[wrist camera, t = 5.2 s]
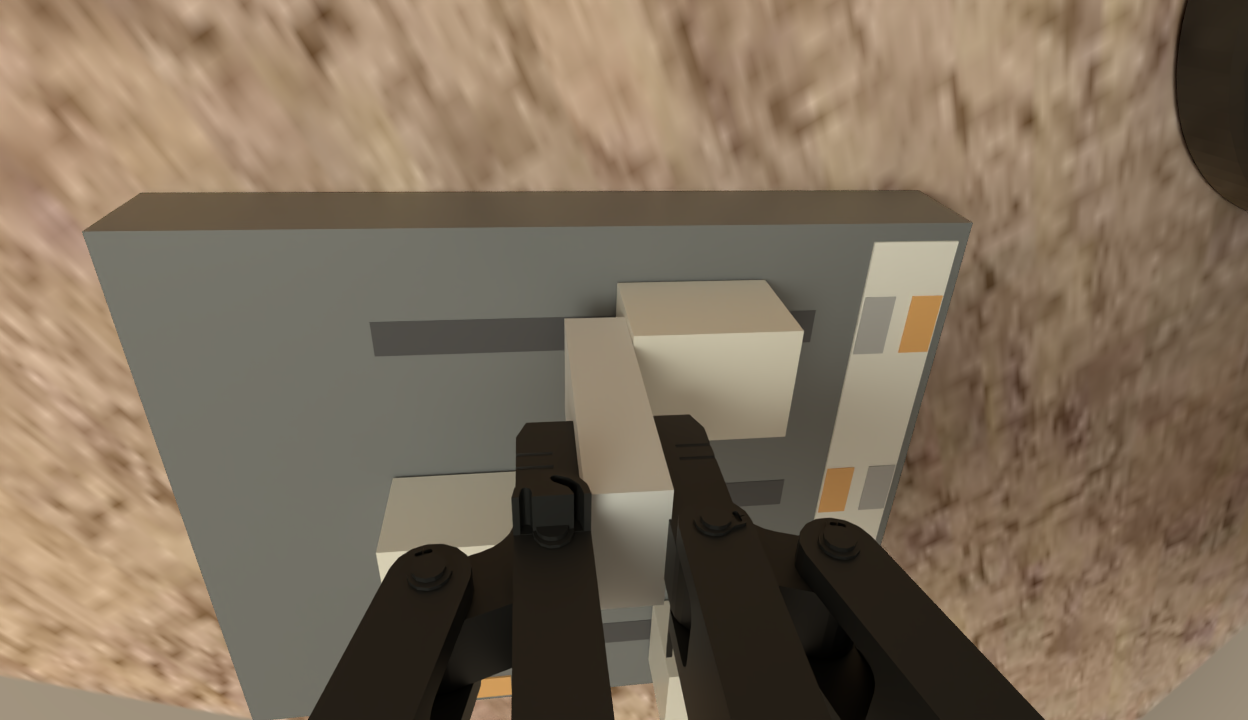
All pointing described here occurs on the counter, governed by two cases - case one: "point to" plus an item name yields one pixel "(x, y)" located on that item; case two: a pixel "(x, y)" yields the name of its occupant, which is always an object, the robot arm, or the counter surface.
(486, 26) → the counter surface
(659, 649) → the back switch
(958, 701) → the robot arm
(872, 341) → the switch panel
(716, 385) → the front switch
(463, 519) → the middle switch
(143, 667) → the counter surface
